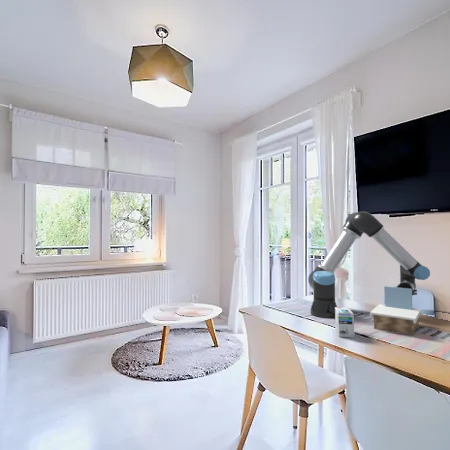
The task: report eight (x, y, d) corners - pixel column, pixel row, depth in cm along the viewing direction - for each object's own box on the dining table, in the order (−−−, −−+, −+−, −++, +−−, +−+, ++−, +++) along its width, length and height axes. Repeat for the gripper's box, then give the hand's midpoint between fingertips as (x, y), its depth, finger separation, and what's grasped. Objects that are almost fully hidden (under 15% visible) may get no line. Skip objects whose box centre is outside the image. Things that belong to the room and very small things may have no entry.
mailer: (374, 328, 147) (373, 313, 147) (382, 319, 162) (382, 305, 163) (413, 335, 137) (412, 319, 137) (418, 324, 153) (418, 310, 153)
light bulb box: (354, 338, 134) (354, 313, 134) (338, 337, 135) (338, 312, 135) (349, 330, 144) (349, 307, 144) (334, 329, 145) (334, 306, 146)
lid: (370, 316, 146) (369, 291, 146) (379, 307, 162) (379, 284, 162) (415, 323, 134) (414, 295, 135) (420, 313, 151) (420, 288, 151)
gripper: (392, 281, 177) (383, 286, 158) (418, 283, 169) (413, 289, 150) (392, 294, 177) (384, 301, 158) (419, 296, 169) (413, 305, 150)
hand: (398, 295), depth 154 cm, fingers closed
